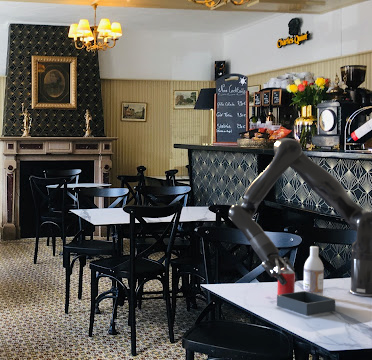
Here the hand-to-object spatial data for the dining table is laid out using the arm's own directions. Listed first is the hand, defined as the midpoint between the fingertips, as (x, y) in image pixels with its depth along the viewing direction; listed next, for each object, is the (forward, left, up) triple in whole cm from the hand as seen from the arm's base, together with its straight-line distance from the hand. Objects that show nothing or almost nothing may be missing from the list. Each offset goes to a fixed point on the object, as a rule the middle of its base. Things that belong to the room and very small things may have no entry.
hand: (290, 282), depth 223 cm
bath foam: (-14, -2, -8) cm, 16 cm away
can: (0, -2, -6) cm, 7 cm away
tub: (+3, +10, -8) cm, 13 cm away
